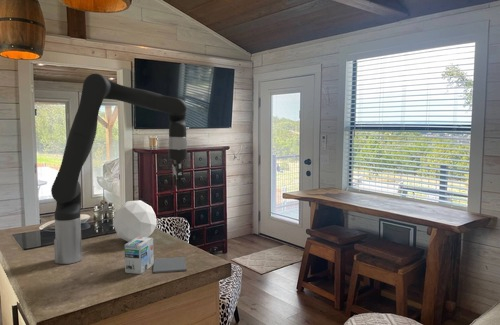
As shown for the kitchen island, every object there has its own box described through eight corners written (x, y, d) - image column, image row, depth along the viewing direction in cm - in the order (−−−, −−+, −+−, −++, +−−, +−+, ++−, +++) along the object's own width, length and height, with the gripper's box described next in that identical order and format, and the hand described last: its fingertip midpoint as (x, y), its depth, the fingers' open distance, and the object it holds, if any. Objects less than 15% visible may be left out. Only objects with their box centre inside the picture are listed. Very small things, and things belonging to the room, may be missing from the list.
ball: (132, 258, 178) (109, 231, 166) (122, 233, 193) (101, 206, 181) (168, 235, 182) (149, 207, 170) (156, 213, 197) (138, 185, 185)
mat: (153, 273, 143) (153, 271, 143) (154, 260, 156) (154, 258, 156) (186, 270, 145) (186, 269, 145) (184, 258, 159) (184, 256, 159)
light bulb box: (141, 274, 141) (140, 245, 140) (124, 273, 143) (123, 244, 142) (154, 264, 152) (153, 237, 151) (138, 263, 153) (137, 236, 152)
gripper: (166, 146, 166) (166, 184, 168) (170, 149, 152) (170, 190, 154) (184, 146, 168) (184, 184, 170) (189, 148, 155) (189, 189, 156)
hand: (177, 186), depth 162 cm, fingers open, 8 cm apart
